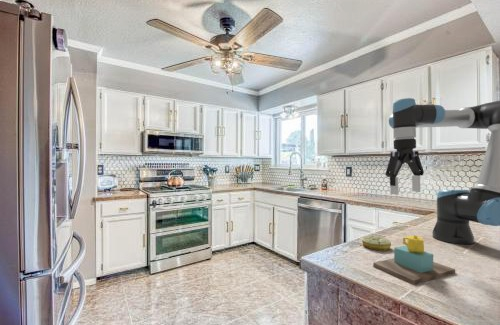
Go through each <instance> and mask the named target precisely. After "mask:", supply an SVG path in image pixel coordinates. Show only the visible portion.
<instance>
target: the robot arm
mask: <svg viewBox="0 0 500 325" xmlns="http://www.w3.org/2000/svg"><path fill="white" fill-rule="evenodd" d="M388 125H389V126H390V128H392V129H393V139H394V140H393V149H394V150H393V151H390V157H389V160H388V164H387V167H386V170H385V176H386V177H387V178H389V186H390V188H389V189H390V195H396V196H399V195H400V194H399V191H400V190H399V177H397V176H398V174H399V173H400V170H401V169H402V166H403V164H407V165H408V168H409V169H410V171H411V172H412V175H411V178H412V179H411V182H412V183H411V184H412V185H411V188H412V192H415V193H421V176H424V173H425V171H424V168H423V165H422V161H421V158H420V155H419V153H420V152H419V150H414V149H416V148H417V139H416V138H417V130H416V128H443V127H444V128H445V127H449V128H450V127H458V128H460V129H478V130H479V129H481V130H482V129H483V130H484V129H485V130H488V131H489V132H490V136H489V139H488V143H487V145H486V146H487V147H486V150H485V153H484V157H483V161H482V164H481V167H480V172H479V175H478V180H477V182H476V185H474V186H472V187H470V190H468V189H444V190H443V189H441V190H439V191H438V192H437V194H436V223H435V225H434V227H433V230H432V238H434V239H436V240H438V241H441V242H445V243H449V244H450V243H451V244H458V245H473V244H475V236H474V234H473V231H472V228H471V226H470V222H474V223H478V224H482V225H483V226H491V227H500V100H495V101H491V102H486V103H483V104H478V105H475V106H468V107H462V108H460V109H445V108H444V107H443V106H442V105H441V104H433V103H432V104H416V99H415V98H412V97H411V98H410V97H408V98H407V97H405V98H399V99H397V100H395V101H394V102H393V103H392V114H391V115H390V116H389V119H388ZM395 150H396V151H395Z"/></svg>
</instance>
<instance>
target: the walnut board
mask: <svg viewBox="0 0 500 325" xmlns="http://www.w3.org/2000/svg"><path fill="white" fill-rule="evenodd" d="M372 264H373V265H372V266H373V267H375V268H376V269H379V270H381V271H383V272H385V273H387V274H390V275H393V276H394V277H397V278H398V279H401V280H402V281H405V282H408V283H410V284H412V285H417V284H420V283H424V282H425V283H426V282H428V281H432V280H436V279H439V278H442V277H445V276H449V275H453V274H455V273H456V269H455V268H453V267H450V266H447V265H444V264H441V263H438V262H435V261H433V270H430V271H426V272H423V273H420V272H417V271H415V270H412V269H410V268H407V267H405V266H402V265H400V264H397V263H395V262H394V257H393V258H390V259H385V260H380V261H376V262H375V261H374V262H373V263H372Z"/></svg>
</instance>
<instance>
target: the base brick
mask: <svg viewBox="0 0 500 325" xmlns="http://www.w3.org/2000/svg"><path fill="white" fill-rule="evenodd" d="M393 251H394V254H393V255H394V257H393V258H394V262H395V263H397V264H400V265H402V266H405V267H407V268H410V269H412V270H415V271H417V272H420V273H423V272H426V271H430V270H433V262H434V253H431V252H428V251H425V250H424V253H422V254H419V253H418V252H414V251H413V253H411V252H409V250H408V247H407V246H406V245H402V246H397V247H394V250H393Z"/></svg>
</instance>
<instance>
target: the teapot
mask: <svg viewBox="0 0 500 325" xmlns="http://www.w3.org/2000/svg"><path fill="white" fill-rule="evenodd" d="M406 240H407V242H406ZM402 244H403V245H404V246H407V247H408V250H409V252H411V253H413V251H414V252H418V253H419V254H422V253H424V251H425V246H424V245H425V244H424V239H423V237H422V236H418V235H407V237H406V236H405V237H404V236H403V238H402Z"/></svg>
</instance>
